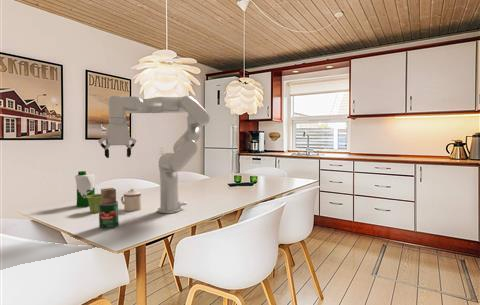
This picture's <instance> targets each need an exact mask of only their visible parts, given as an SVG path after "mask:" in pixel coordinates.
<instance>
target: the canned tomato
mask: <svg viewBox="0 0 480 305" xmlns="http://www.w3.org/2000/svg"><path fill="white" fill-rule="evenodd" d="M98 223H99V224H98V225H99V226H98V228H99V230H103V231H104V230H105V231H108V230H113V229H116V228H119V226H120V224H119V202H118V200H116V203H111V204H103V203H101V202H100V203H99V212H98Z"/></svg>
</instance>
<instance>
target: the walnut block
mask: <svg viewBox="0 0 480 305" xmlns="http://www.w3.org/2000/svg"><path fill="white" fill-rule="evenodd" d="M100 194H101V203H103V204H111V203H116V201H117V190H116V188H114V187H109V188H108V187H107V188H101V189H100Z"/></svg>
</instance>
